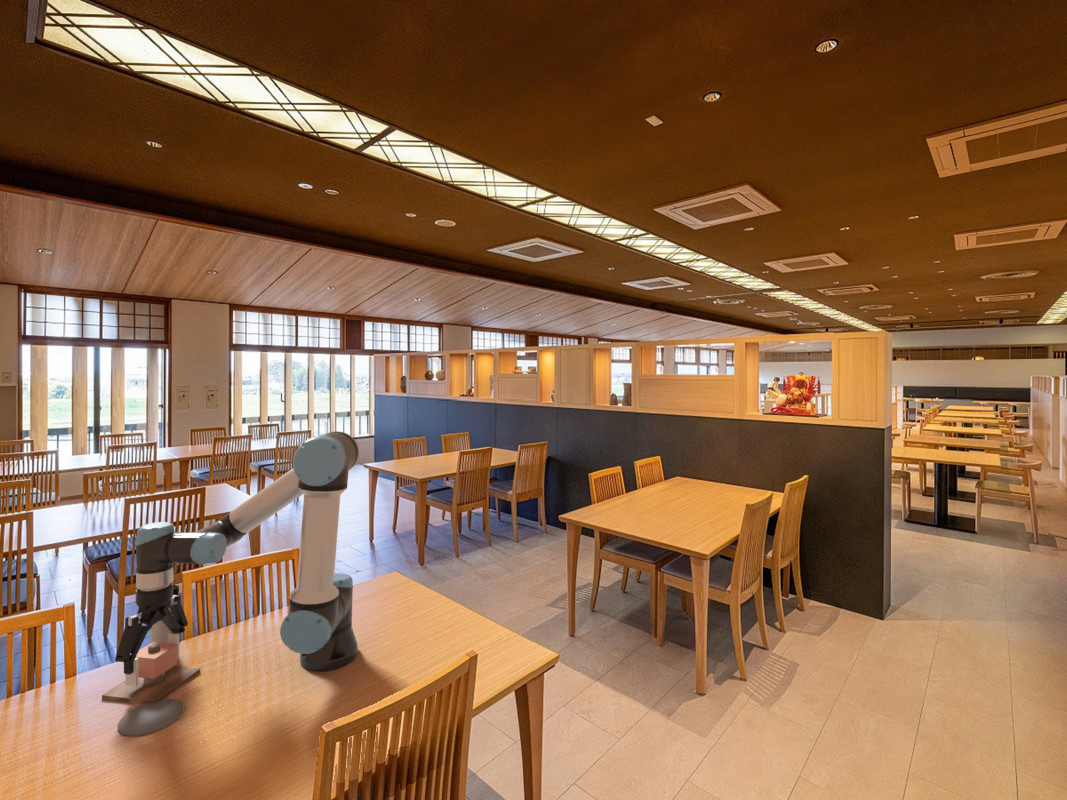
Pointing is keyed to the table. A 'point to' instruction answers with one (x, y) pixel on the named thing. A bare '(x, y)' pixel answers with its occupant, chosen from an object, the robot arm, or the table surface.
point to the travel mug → (162, 626)
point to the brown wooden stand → (152, 686)
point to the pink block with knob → (157, 659)
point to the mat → (150, 717)
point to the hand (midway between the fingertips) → (153, 670)
